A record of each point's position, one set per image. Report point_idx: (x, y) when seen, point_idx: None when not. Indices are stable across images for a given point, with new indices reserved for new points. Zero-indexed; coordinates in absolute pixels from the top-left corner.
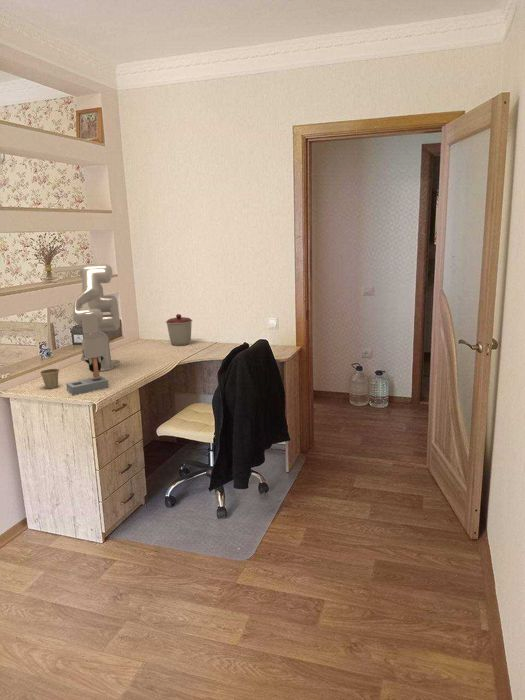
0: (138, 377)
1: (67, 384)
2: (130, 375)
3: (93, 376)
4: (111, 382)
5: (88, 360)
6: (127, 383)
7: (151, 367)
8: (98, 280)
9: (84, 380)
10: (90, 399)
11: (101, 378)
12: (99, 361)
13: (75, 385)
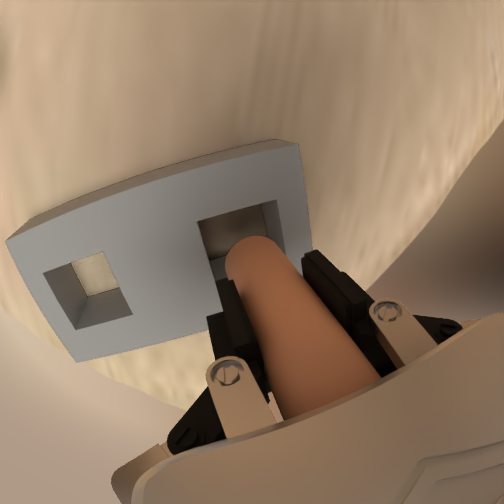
0: (456, 153)
1: (20, 270)
2: (442, 84)
3: (228, 278)
4: (338, 156)
5: (235, 416)
6: (396, 232)
7: (499, 45)
8: None
9: (138, 224)
10: (182, 404)
11: (289, 229)
12: (374, 366)
13: (84, 332)
